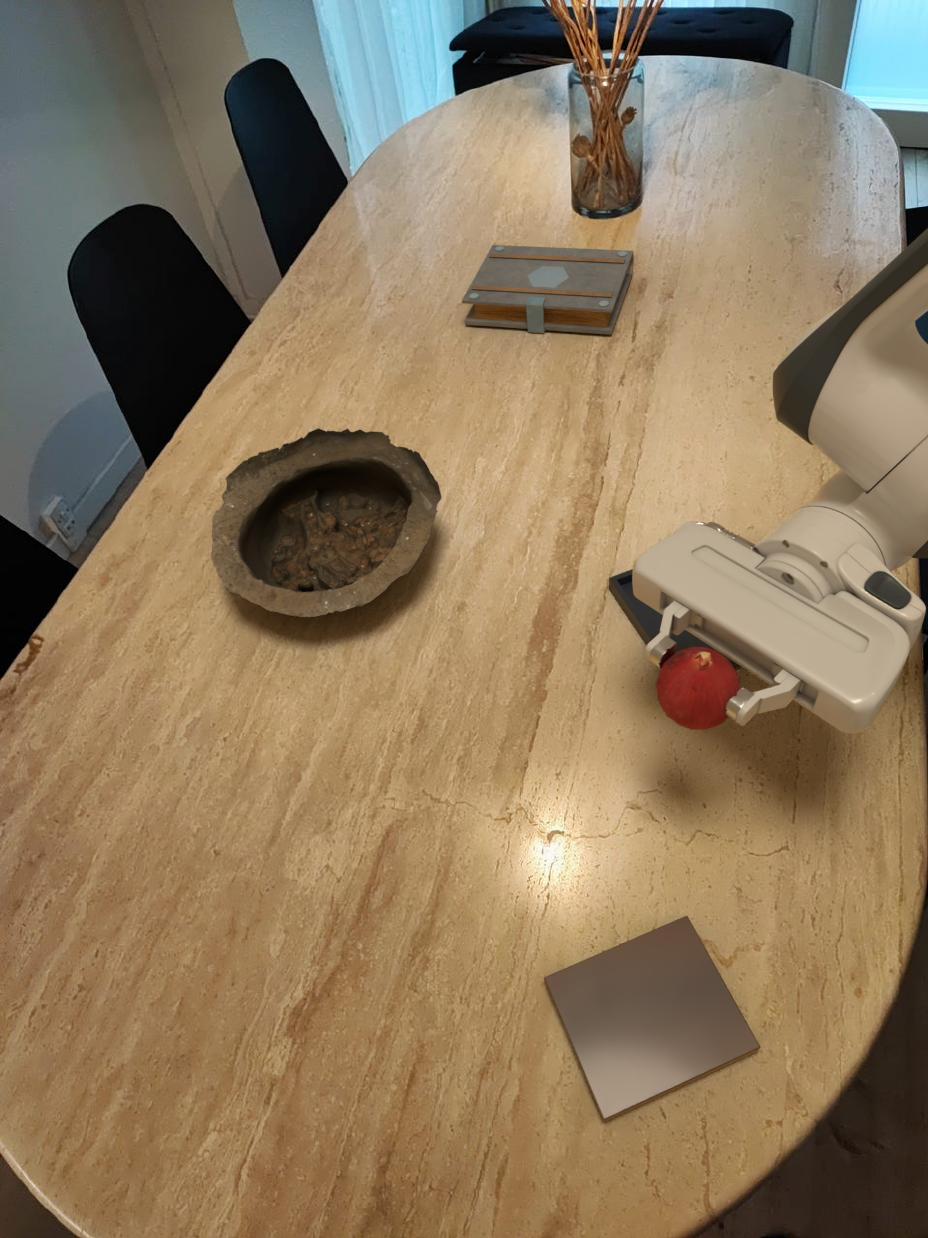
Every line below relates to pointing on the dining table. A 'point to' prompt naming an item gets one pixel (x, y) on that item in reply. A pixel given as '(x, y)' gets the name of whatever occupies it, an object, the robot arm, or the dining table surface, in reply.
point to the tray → (649, 615)
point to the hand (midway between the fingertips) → (692, 686)
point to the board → (649, 1017)
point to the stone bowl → (323, 522)
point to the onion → (696, 687)
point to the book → (550, 289)
